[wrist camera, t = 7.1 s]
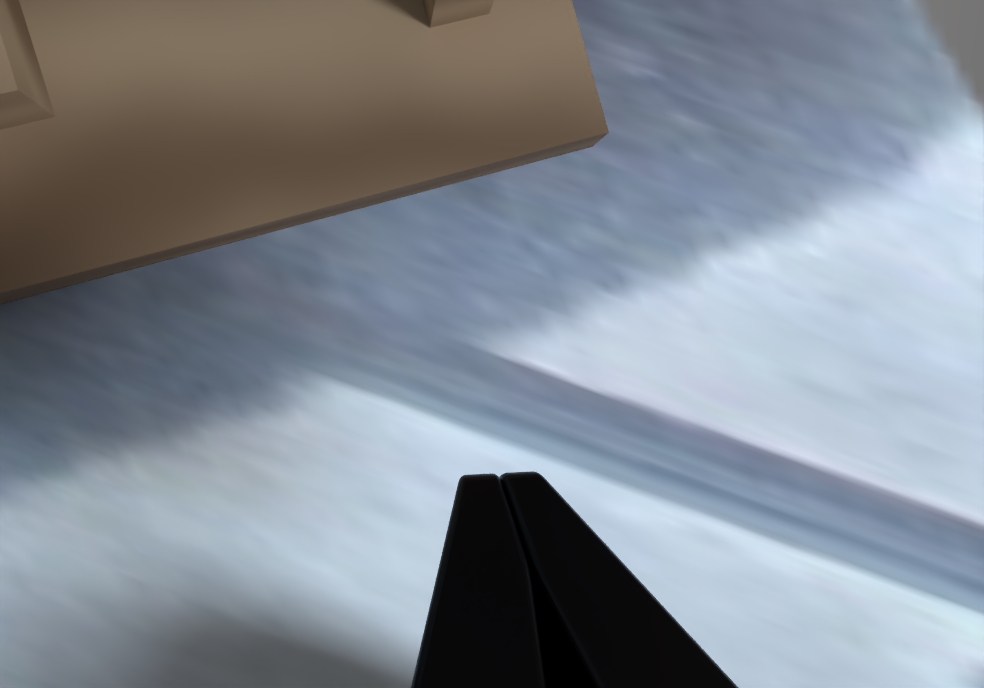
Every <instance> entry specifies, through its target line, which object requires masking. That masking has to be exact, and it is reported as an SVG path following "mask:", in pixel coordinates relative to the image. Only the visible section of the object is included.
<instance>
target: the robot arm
mask: <svg viewBox="0 0 984 688" xmlns="http://www.w3.org/2000/svg"><path fill="white" fill-rule="evenodd" d="M411 688H738V687H737V686H736V685H735V684H734V683H733V681H732V680H731V679H730V678H729V677H728V676H727V675H726V674H725V673H724V672H723V671H722V670H721V668H720V667H719V666H718V665H717V664H716V663H715V662H714V661H713V660H712V659H711V658H710V657H709V656H708V654H707V653H706V652H705V651H704V650H703V649H702V648H701V647H700V646H699V645H698V644H697V643H696V641H695V640H694V639H693V638H692V637H691V636H690V635H689V634H688V633H687V632H686V631H685V630H684V628H683V627H682V626H681V625H680V624H679V623H678V622H677V621H676V620H675V619H674V618H673V617H672V615H671V614H670V613H669V612H668V611H667V610H666V609H665V608H664V607H663V606H662V605H661V604H660V603H659V601H658V600H657V599H656V598H655V597H654V596H653V595H652V594H651V593H650V592H649V591H648V590H647V588H646V587H645V586H644V585H643V584H642V583H641V582H640V581H639V580H638V579H637V578H636V577H635V575H634V574H633V573H632V572H631V571H630V570H629V569H628V568H627V567H626V566H625V565H624V564H623V562H622V561H621V560H620V559H619V558H618V557H617V556H616V555H615V554H614V553H613V552H612V551H611V550H610V548H609V547H608V546H607V545H606V544H605V543H604V542H603V541H602V540H601V539H600V538H599V537H598V535H597V534H596V533H595V532H594V531H593V530H592V529H591V528H590V527H589V526H588V525H587V524H586V522H585V521H584V520H583V519H582V518H581V517H580V516H579V515H578V514H577V513H576V512H575V511H574V509H573V508H572V507H571V506H570V505H569V504H568V503H567V502H566V501H565V500H564V499H563V498H562V496H561V495H560V494H559V493H558V492H557V491H556V490H555V489H554V488H553V487H552V486H551V485H550V484H549V482H548V481H547V480H546V479H545V478H544V477H543V476H542V475H540V474H539V473H537V472H516V473H505V474H503V475H501V476H500V478H499V477H498V476H497V475H495V474H476V475H464V476H462V477H461V478H460V480H459V483H458V487H457V491H456V495H455V500H454V504H453V508H452V513H451V517H450V521H449V526H448V530H447V534H446V539H445V543H444V547H443V552H442V556H441V560H440V564H439V569H438V573H437V577H436V582H435V586H434V590H433V595H432V599H431V603H430V608H429V612H428V616H427V621H426V625H425V629H424V634H423V638H422V642H421V647H420V651H419V655H418V660H417V664H416V668H415V673H414V677H413V681H412V686H411Z"/></svg>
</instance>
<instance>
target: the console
mask: <svg viewBox="0 0 984 688" xmlns="http://www.w3.org/2000/svg"><path fill="white" fill-rule="evenodd" d="M607 133H608V128H607V125H606V121H605V117H604V114H603V110H602V107H601V103H600V100H599V96H598V93H597V89H596V85H595V82H594V78H593V75H592V71H591V68H590V64H589V60H588V57H587V53H586V50H585V46H584V43H583V39H582V35H581V32H580V28H579V25H578V21H577V18H576V14H575V10H574V7H573V3H572V0H0V304H3V303H6V302H10V301H14V300H18V299H21V298H25V297H29V296H33V295H37V294H40V293H44V292H48V291H52V290H55V289H59V288H63V287H67V286H70V285H74V284H78V283H82V282H85V281H89V280H93V279H97V278H100V277H104V276H108V275H112V274H115V273H119V272H123V271H127V270H130V269H134V268H138V267H142V266H145V265H149V264H153V263H157V262H160V261H164V260H168V259H172V258H175V257H179V256H183V255H187V254H190V253H194V252H198V251H202V250H205V249H209V248H213V247H217V246H220V245H224V244H228V243H232V242H235V241H239V240H243V239H247V238H250V237H254V236H258V235H262V234H265V233H269V232H273V231H277V230H280V229H284V228H288V227H292V226H296V225H299V224H303V223H307V222H311V221H314V220H318V219H322V218H326V217H329V216H333V215H337V214H341V213H344V212H348V211H352V210H356V209H359V208H363V207H367V206H371V205H374V204H378V203H382V202H386V201H389V200H393V199H397V198H401V197H404V196H408V195H412V194H416V193H419V192H423V191H427V190H431V189H434V188H438V187H442V186H446V185H449V184H453V183H457V182H461V181H464V180H468V179H472V178H476V177H479V176H483V175H487V174H491V173H494V172H498V171H502V170H506V169H509V168H513V167H517V166H521V165H524V164H528V163H532V162H536V161H539V160H543V159H547V158H551V157H555V156H558V155H562V154H566V153H570V152H573V151H577V150H581V149H585V148H588V147H592V146H593V145H595V144H596V143H597V142H598V141H599V140H600V139H602V138H603V137H604V136H605V135H606V134H607Z"/></svg>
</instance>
